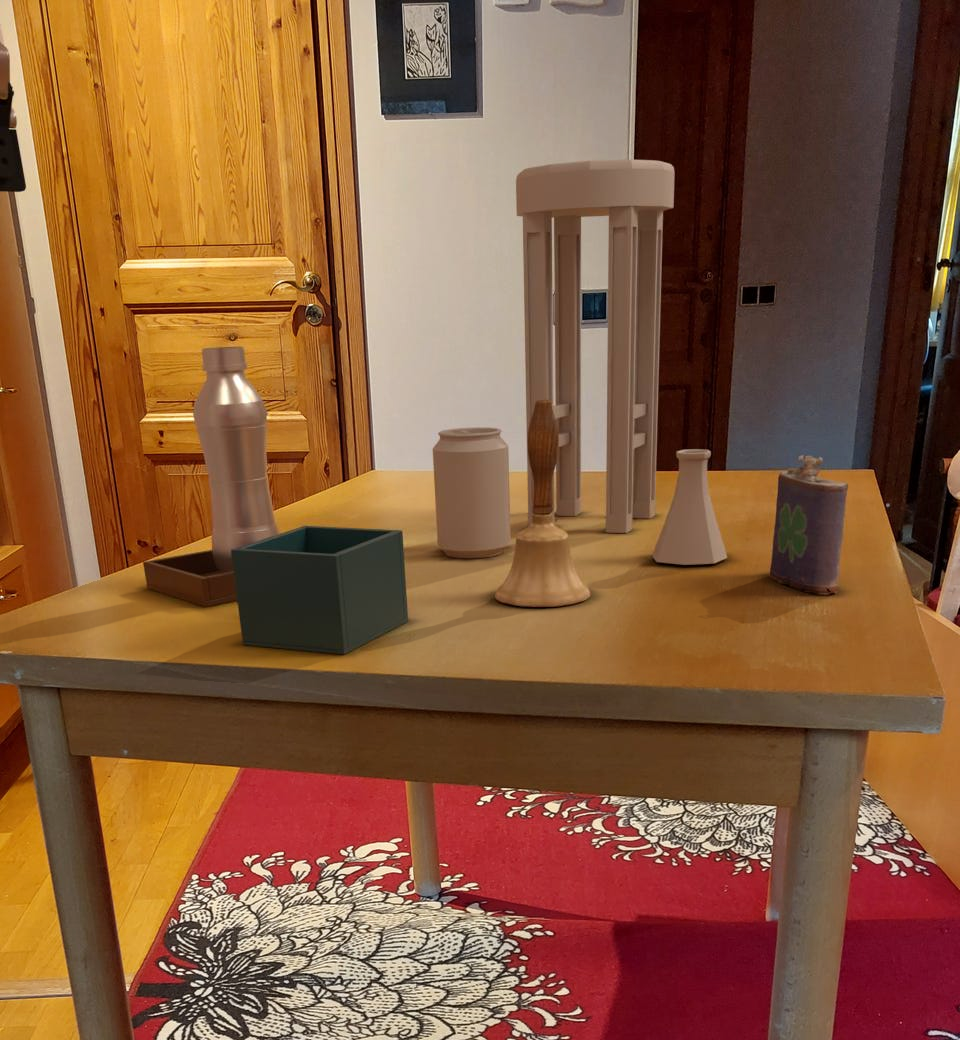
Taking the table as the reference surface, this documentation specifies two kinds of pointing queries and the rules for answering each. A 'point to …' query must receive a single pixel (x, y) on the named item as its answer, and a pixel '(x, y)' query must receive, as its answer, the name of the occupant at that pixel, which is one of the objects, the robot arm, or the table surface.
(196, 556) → the tray
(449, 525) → the can
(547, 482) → the hand bell
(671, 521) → the flask
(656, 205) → the stool
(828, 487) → the flask
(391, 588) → the bin
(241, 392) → the metal bottle
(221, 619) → the table surface
